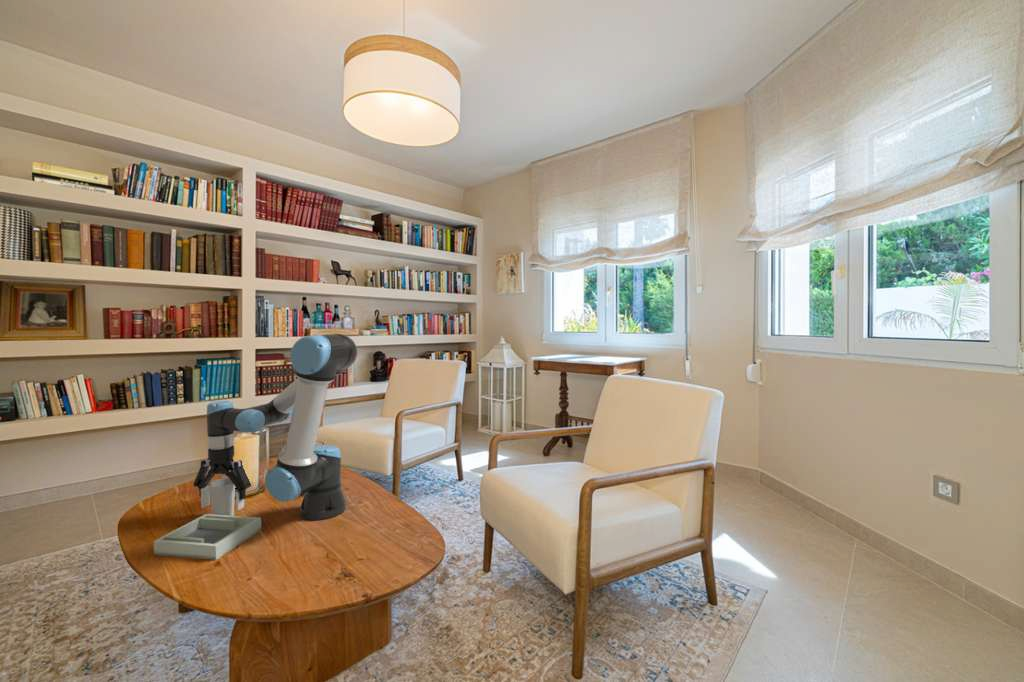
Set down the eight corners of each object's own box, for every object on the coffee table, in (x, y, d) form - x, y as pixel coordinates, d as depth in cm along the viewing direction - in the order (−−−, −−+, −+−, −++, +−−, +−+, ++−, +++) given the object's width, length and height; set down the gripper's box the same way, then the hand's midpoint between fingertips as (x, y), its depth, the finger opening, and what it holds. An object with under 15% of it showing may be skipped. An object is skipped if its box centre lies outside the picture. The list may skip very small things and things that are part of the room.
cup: (242, 511, 154) (241, 478, 153) (225, 522, 146) (224, 487, 145) (221, 510, 154) (220, 477, 154) (203, 521, 146) (202, 486, 146)
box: (261, 529, 140) (261, 517, 140) (216, 559, 123) (215, 546, 122) (206, 525, 143) (205, 513, 143) (154, 554, 125) (153, 541, 125)
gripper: (261, 444, 151) (263, 504, 152) (198, 442, 154) (200, 500, 155) (245, 451, 144) (247, 514, 144) (179, 448, 147) (181, 509, 148)
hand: (222, 507), depth 150 cm, fingers open, 13 cm apart
